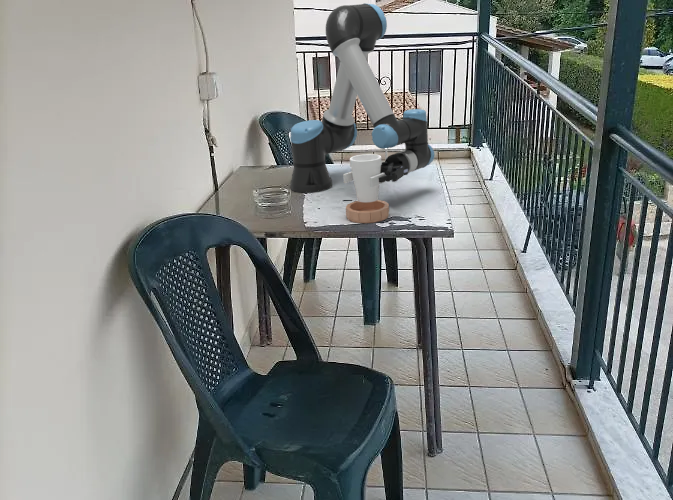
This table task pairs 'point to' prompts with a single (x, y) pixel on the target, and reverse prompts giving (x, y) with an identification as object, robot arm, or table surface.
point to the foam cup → (365, 176)
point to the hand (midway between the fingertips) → (357, 180)
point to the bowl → (367, 211)
